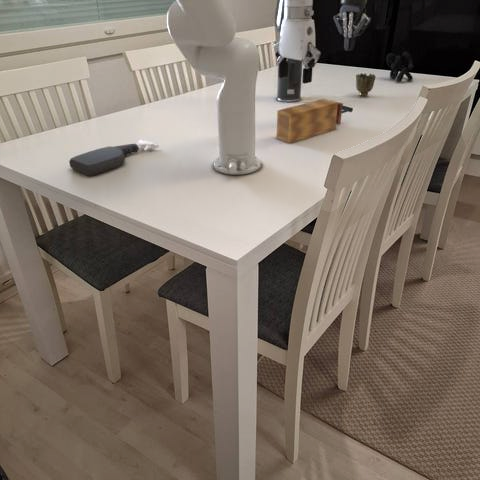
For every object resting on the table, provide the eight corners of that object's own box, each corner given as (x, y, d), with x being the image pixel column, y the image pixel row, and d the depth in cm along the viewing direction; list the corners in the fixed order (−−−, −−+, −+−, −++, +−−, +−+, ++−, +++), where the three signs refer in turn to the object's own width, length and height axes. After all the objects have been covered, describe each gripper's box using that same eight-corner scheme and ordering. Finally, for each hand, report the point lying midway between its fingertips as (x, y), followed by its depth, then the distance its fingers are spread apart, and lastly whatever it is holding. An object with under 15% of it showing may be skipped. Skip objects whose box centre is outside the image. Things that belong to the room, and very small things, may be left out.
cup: (351, 97, 177) (353, 76, 172) (356, 92, 182) (358, 72, 178) (370, 99, 174) (373, 77, 169) (374, 94, 179) (377, 73, 175)
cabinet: (321, 124, 148) (323, 98, 144) (335, 129, 144) (338, 102, 140) (276, 138, 138) (277, 110, 133) (290, 143, 134) (291, 114, 129)
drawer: (341, 117, 152) (343, 97, 148) (352, 120, 149) (354, 100, 145) (288, 132, 139) (288, 111, 136) (299, 136, 136) (300, 114, 132)
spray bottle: (67, 168, 120) (139, 144, 136) (91, 178, 114) (163, 151, 130) (65, 157, 118) (137, 134, 134) (89, 167, 112) (162, 142, 128)
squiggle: (400, 92, 202) (376, 71, 205) (417, 76, 202) (392, 56, 205) (405, 81, 191) (380, 59, 194) (423, 64, 191) (397, 42, 194)
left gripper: (331, 14, 116) (326, 82, 125) (285, 10, 127) (283, 73, 136) (311, 17, 112) (307, 87, 121) (266, 12, 123) (265, 77, 133)
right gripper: (382, -15, 126) (373, 51, 135) (346, -16, 135) (340, 46, 144) (365, -14, 122) (357, 54, 131) (329, -15, 131) (324, 49, 140)
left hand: (294, 79), depth 129 cm, fingers open, 9 cm apart
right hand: (348, 50), depth 137 cm, fingers closed
